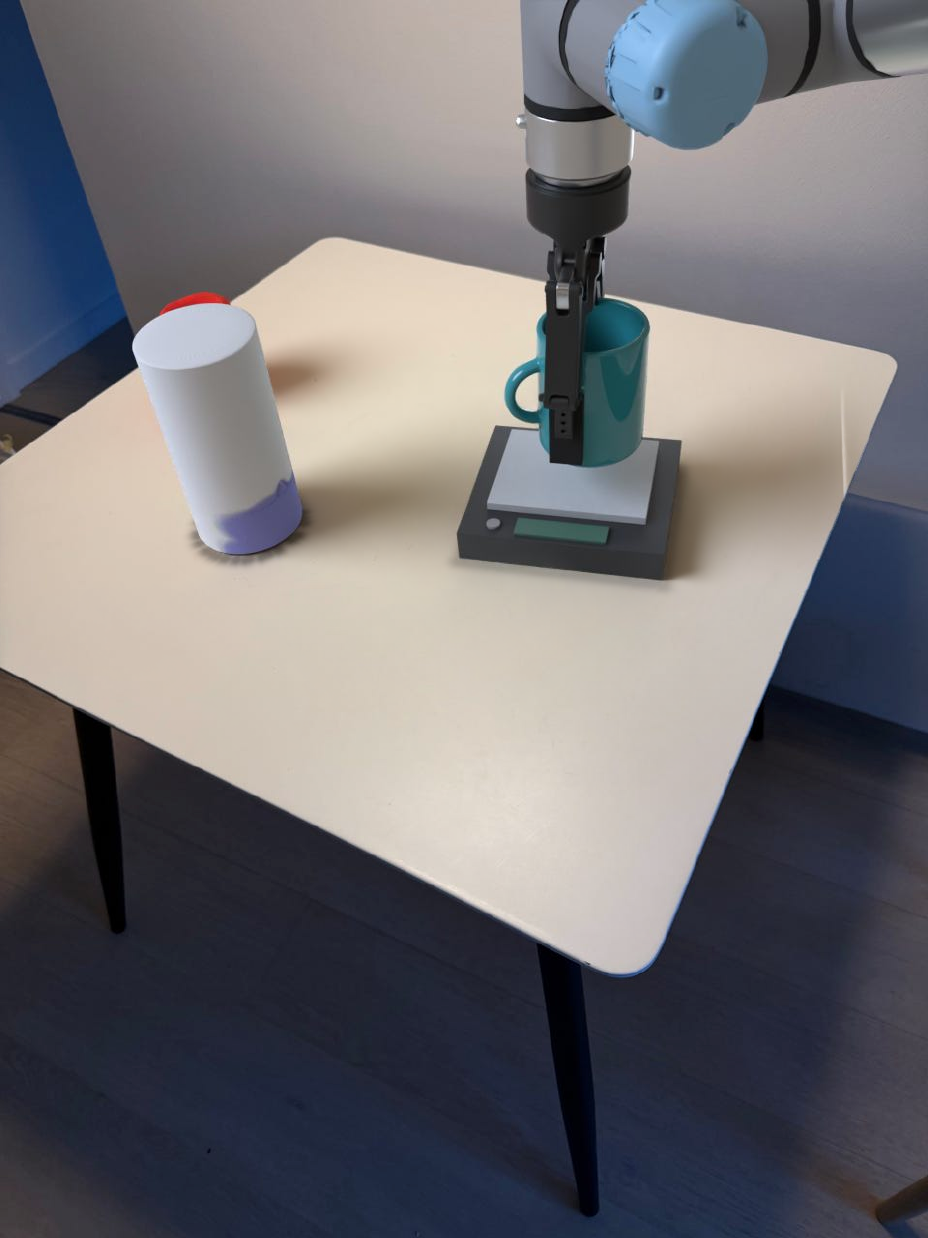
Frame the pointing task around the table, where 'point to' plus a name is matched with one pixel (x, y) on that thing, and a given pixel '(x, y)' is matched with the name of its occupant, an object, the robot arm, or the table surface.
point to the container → (221, 425)
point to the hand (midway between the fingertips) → (575, 426)
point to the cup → (599, 383)
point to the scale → (571, 508)
